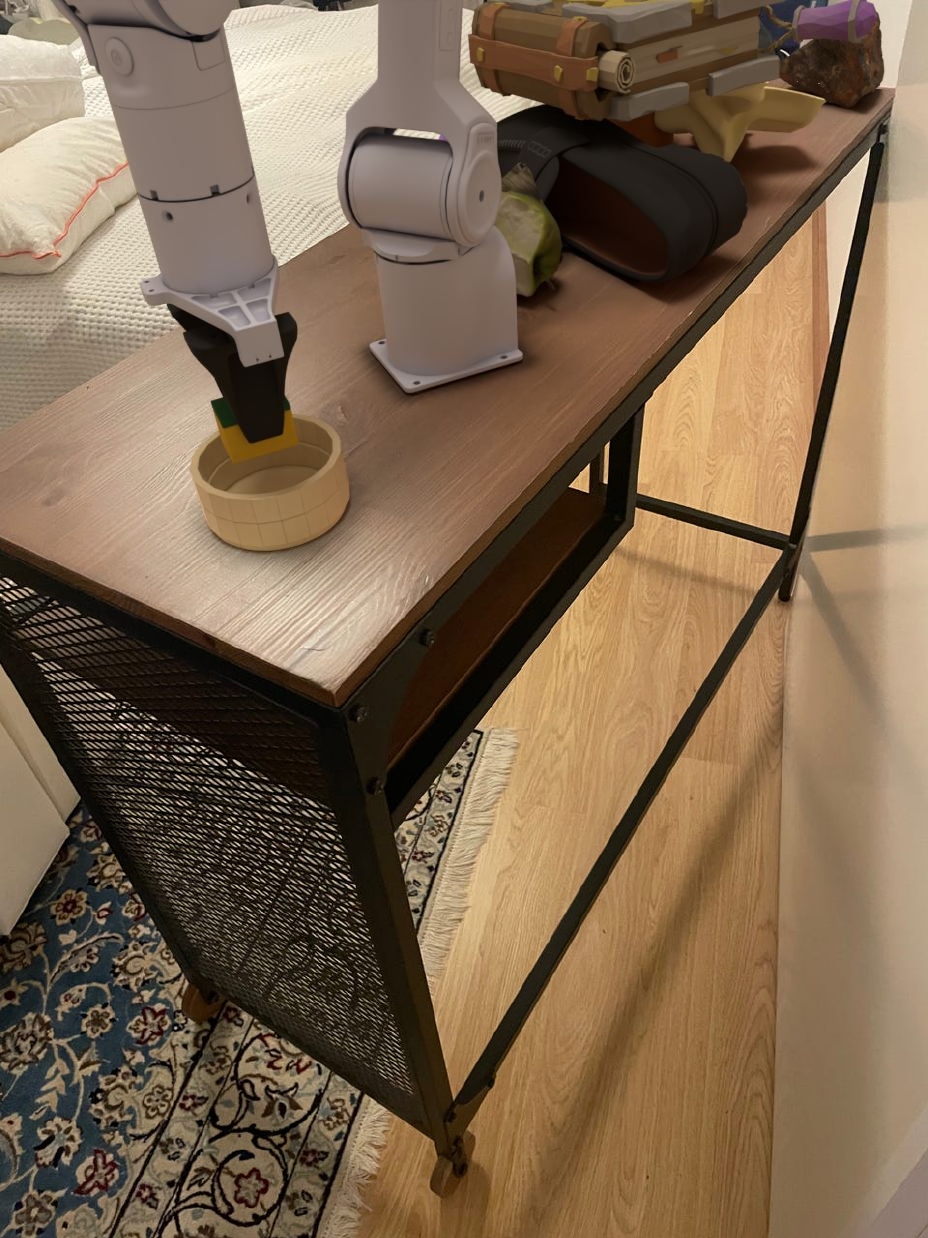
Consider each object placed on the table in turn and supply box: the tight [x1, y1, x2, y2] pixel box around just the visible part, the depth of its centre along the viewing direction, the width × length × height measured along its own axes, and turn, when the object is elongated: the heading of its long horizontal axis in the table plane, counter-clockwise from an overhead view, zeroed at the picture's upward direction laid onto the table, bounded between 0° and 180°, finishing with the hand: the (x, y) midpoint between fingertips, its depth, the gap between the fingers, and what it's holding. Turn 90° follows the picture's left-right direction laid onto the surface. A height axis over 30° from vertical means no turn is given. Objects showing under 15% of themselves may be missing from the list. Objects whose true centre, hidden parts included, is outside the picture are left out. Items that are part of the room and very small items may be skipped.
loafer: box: [496, 103, 749, 284], centre depth 81 cm, size 10×28×12 cm
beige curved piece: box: [654, 81, 828, 163], centre depth 95 cm, size 22×19×6 cm
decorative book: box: [467, 0, 878, 121], centre depth 80 cm, size 25×27×11 cm
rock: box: [779, 10, 885, 109], centre depth 106 cm, size 14×12×10 cm
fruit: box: [494, 162, 562, 298], centre depth 77 cm, size 9×9×8 cm
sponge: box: [210, 395, 298, 464], centre depth 55 cm, size 4×3×3 cm, turn 115°
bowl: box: [189, 413, 351, 552], centre depth 58 cm, size 9×9×4 cm
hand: (257, 423), depth 55 cm, fingers closed on sponge, 2 cm apart
